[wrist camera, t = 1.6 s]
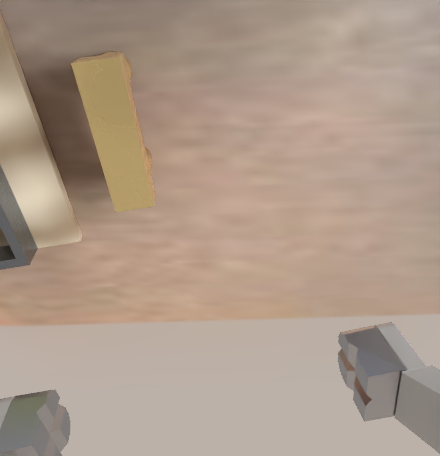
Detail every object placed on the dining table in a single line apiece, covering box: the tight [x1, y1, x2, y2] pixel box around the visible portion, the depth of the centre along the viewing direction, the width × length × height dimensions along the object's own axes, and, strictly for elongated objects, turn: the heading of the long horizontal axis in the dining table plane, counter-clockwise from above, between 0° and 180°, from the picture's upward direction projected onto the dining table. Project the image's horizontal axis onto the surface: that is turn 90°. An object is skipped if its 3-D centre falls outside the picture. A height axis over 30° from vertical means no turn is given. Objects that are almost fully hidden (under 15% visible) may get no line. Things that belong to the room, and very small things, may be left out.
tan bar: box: [71, 51, 155, 212], centre depth 28 cm, size 10×3×6 cm, turn 7°
